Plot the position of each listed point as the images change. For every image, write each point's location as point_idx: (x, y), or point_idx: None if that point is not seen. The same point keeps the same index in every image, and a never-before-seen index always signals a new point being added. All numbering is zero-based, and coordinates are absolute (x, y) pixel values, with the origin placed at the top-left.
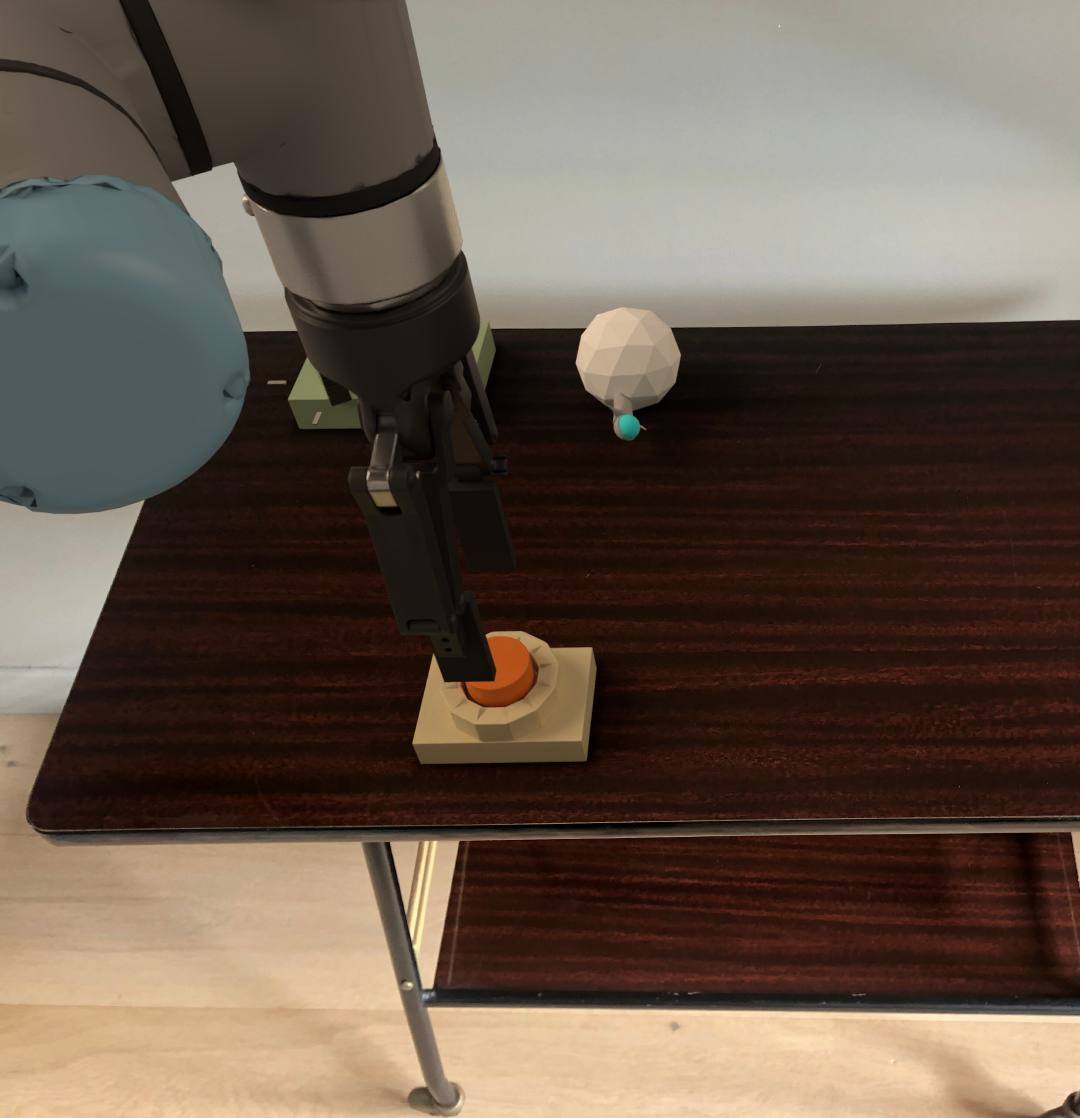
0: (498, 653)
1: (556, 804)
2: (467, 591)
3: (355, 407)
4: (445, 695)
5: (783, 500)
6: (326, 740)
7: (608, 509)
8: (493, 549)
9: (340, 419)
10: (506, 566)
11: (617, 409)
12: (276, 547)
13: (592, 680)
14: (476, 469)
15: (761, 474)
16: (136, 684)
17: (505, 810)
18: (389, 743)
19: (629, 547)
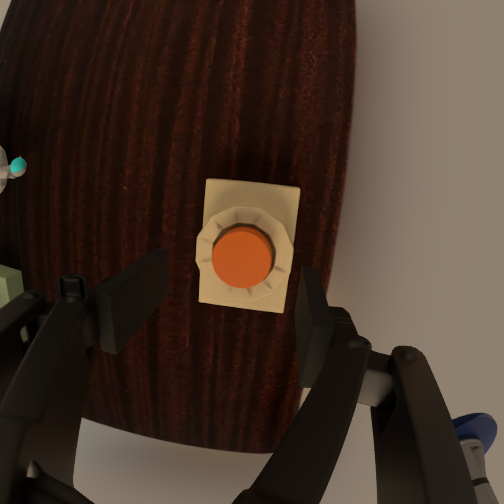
0: (231, 258)
1: (331, 210)
2: (313, 331)
3: (23, 340)
4: (257, 296)
5: (84, 56)
6: (254, 356)
7: (72, 176)
8: (156, 275)
9: None
10: (166, 258)
11: (6, 174)
12: (112, 380)
13: (231, 180)
14: (84, 321)
15: (61, 74)
16: (206, 434)
17: (329, 245)
18: (262, 322)
19: (103, 158)
